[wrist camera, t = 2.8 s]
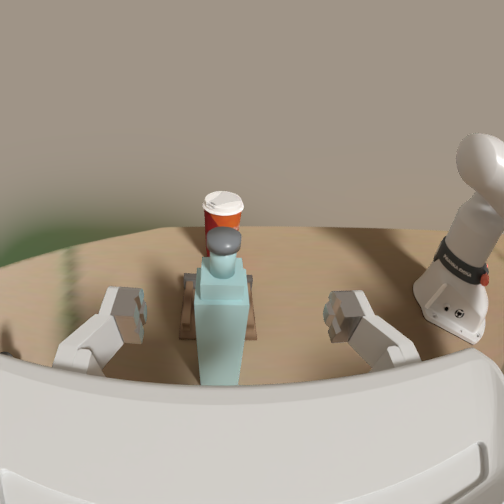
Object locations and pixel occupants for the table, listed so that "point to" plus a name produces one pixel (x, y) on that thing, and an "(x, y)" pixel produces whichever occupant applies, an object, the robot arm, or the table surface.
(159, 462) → the robot arm
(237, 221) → the paper cup
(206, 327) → the bottle
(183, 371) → the table surface
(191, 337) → the brown square frame
